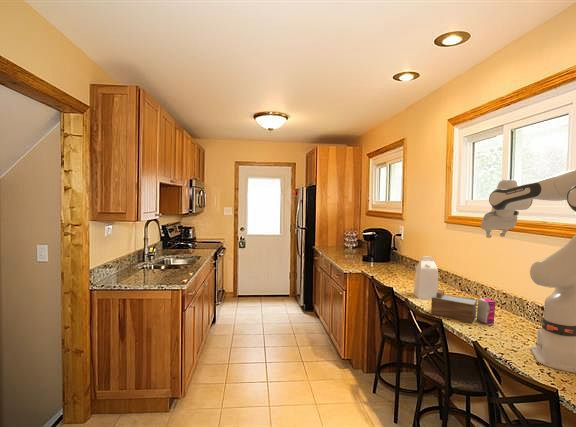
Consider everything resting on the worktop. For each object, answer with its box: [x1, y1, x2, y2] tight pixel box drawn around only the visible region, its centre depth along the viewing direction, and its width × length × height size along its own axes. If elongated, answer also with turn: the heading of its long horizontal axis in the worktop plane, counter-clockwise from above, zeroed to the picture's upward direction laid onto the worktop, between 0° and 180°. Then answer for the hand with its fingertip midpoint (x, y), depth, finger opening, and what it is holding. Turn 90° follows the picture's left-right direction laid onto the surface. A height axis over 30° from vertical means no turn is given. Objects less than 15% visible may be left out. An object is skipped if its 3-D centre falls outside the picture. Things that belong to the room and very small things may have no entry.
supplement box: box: [476, 298, 497, 325], centre depth 181 cm, size 6×6×12 cm
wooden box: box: [430, 294, 478, 324], centre depth 189 cm, size 12×20×9 cm, turn 54°
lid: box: [432, 289, 477, 305], centre depth 189 cm, size 9×20×4 cm, turn 54°
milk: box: [413, 255, 439, 300], centre depth 226 cm, size 12×12×26 cm
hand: (495, 236), depth 181 cm, fingers open, 8 cm apart
